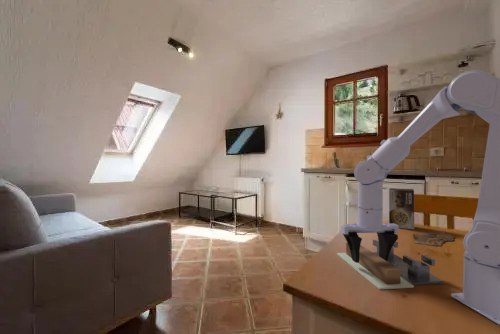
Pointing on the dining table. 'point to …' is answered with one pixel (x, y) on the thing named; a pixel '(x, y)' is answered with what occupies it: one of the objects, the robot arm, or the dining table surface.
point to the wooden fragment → (433, 238)
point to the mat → (371, 277)
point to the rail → (377, 266)
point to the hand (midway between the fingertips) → (369, 260)
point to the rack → (412, 267)
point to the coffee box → (401, 207)
